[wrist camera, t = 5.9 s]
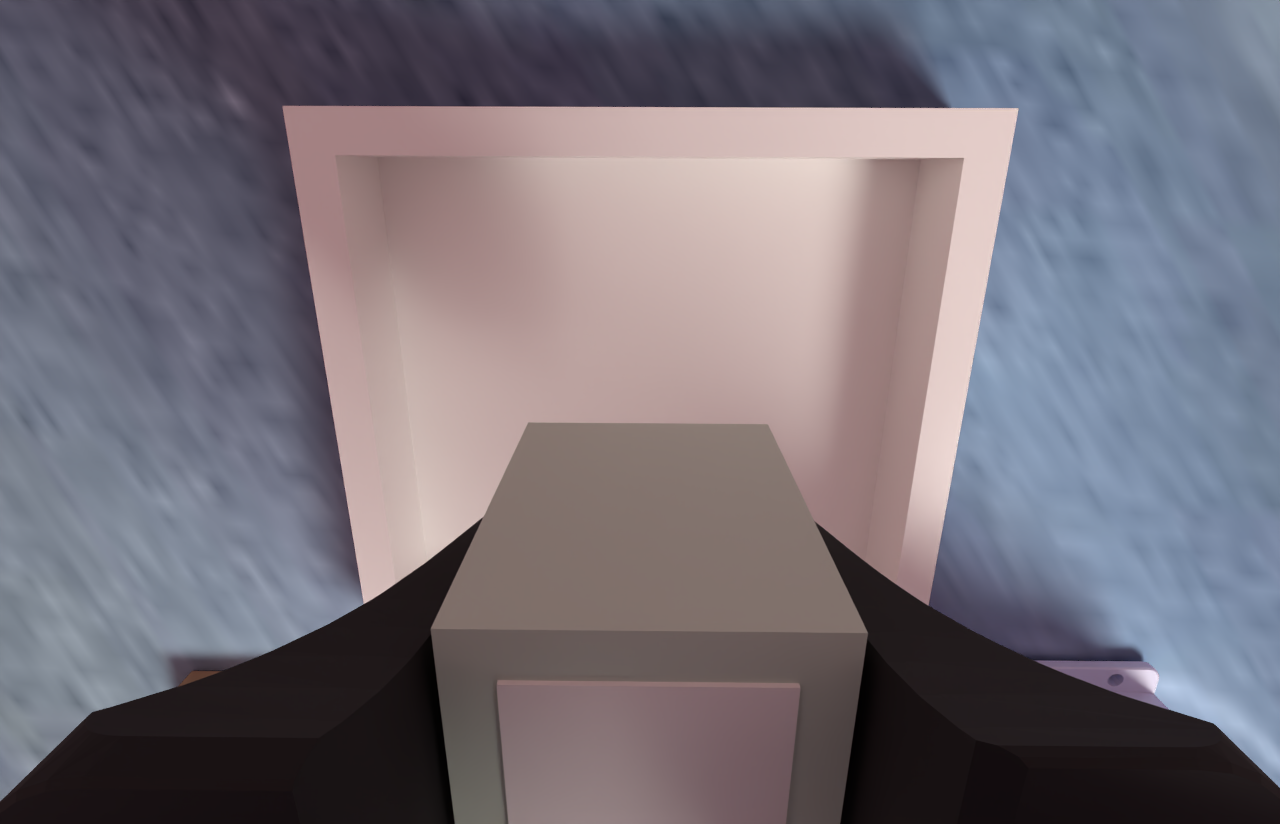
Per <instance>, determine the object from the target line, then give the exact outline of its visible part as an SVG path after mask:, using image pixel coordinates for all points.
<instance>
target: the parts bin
mask: <svg viewBox="0 0 1280 824" xmlns="http://www.w3.org/2000/svg"><path fill="white" fill-rule="evenodd" d="M282 107H283V113H284V119H285V125H286V131H287V137H288V144H289V150H290V156H291V162H292V168H293V174H294V180H295V186H296V192H297V198H298V205H299V211H300V217H301V223H302V229H303V235H304V241H305V247H306V253H307V260H308V266H309V272H310V278H311V284H312V290H313V296H314V302H315V308H316V314H317V321H318V327H319V333H320V339H321V345H322V351H323V357H324V363H325V369H326V375H327V382H328V388H329V394H330V400H331V406H332V412H333V418H334V424H335V430H336V436H337V443H338V449H339V455H340V461H341V467H342V473H343V479H344V485H345V491H346V498H347V504H348V510H349V516H350V522H351V528H352V534H353V540H354V546H355V552H356V559H357V565H358V571H359V577H360V583H361V589H362V595H363V601H364V604H365V603H367V602H368V601H370V600H372V599H373V598H375V597H376V596H378V595H380V594H381V593H383V592H384V591H386V590H387V589H389V588H390V587H391V586H393V585H394V584H396V583H397V582H399V581H400V580H401V579H403V578H404V577H406V576H407V575H409V574H410V573H411V572H413V571H414V570H416V569H417V568H419V567H420V566H421V565H423V564H424V563H426V562H427V561H428V560H430V559H431V558H432V557H433V556H435V555H436V554H437V553H438V552H440V551H441V550H442V549H444V548H445V547H446V546H447V545H449V544H450V543H451V542H453V541H454V540H455V539H456V538H458V537H459V536H460V535H461V534H462V533H464V532H465V531H466V530H467V529H469V528H470V527H471V526H472V525H474V524H475V523H476V522H477V521H479V520H480V519H481V518H483V517H484V515H485V513H486V511H487V509H488V506H489V504H490V502H491V500H492V498H493V496H494V494H495V492H496V489H497V487H498V485H499V483H500V481H501V479H502V477H503V475H504V473H505V470H506V468H507V466H508V464H509V462H510V460H511V458H512V456H513V454H514V451H515V449H516V447H517V445H518V443H519V441H520V439H521V437H522V435H523V432H524V430H525V428H526V426H527V424H528V422H536V423H678V424H768V426H769V428H770V430H771V432H772V434H773V436H774V438H775V440H776V442H777V444H778V447H779V449H780V451H781V453H782V455H783V457H784V459H785V461H786V463H787V465H788V467H789V469H790V472H791V474H792V476H793V478H794V480H795V482H796V484H797V486H798V488H799V490H800V492H801V494H802V497H803V499H804V501H805V503H806V505H807V507H808V509H809V511H810V513H811V515H812V517H813V519H814V521H815V522H816V523H818V524H819V525H820V526H821V527H823V528H824V529H825V530H826V531H828V532H829V533H830V534H831V535H832V536H834V537H835V538H836V539H837V540H839V541H840V542H841V543H842V544H844V545H845V546H846V547H847V548H849V549H850V550H851V551H852V552H854V553H855V554H856V555H857V556H859V557H860V558H861V559H862V560H864V561H865V562H866V563H868V564H869V565H870V566H872V567H873V568H874V569H876V570H877V571H878V572H880V573H881V574H882V575H884V576H885V577H887V578H888V579H889V580H891V581H892V582H893V583H895V584H896V585H898V586H899V587H901V588H902V589H904V590H905V591H907V592H908V593H910V594H911V595H913V596H914V597H916V598H917V599H919V600H920V601H922V602H923V603H925V604H927V605H928V606H929V600H930V595H931V589H932V584H933V578H934V573H935V567H936V562H937V556H938V551H939V545H940V539H941V534H942V528H943V523H944V517H945V512H946V506H947V501H948V495H949V490H950V484H951V479H952V473H953V468H954V462H955V457H956V451H957V446H958V440H959V435H960V429H961V423H962V418H963V412H964V407H965V401H966V396H967V390H968V385H969V379H970V374H971V368H972V363H973V357H974V352H975V346H976V341H977V335H978V330H979V324H980V318H981V313H982V307H983V302H984V296H985V291H986V285H987V280H988V274H989V269H990V263H991V258H992V252H993V247H994V241H995V236H996V230H997V225H998V219H999V214H1000V208H1001V202H1002V197H1003V191H1004V186H1005V180H1006V175H1007V169H1008V164H1009V158H1010V153H1011V147H1012V142H1013V136H1014V131H1015V125H1016V120H1017V114H1018V109H1019V108H748V107H465V106H282Z"/></svg>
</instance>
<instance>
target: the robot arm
mask: <svg viewBox="0 0 1280 824" xmlns="http://www.w3.org/2000/svg"><path fill="white" fill-rule="evenodd" d="M482 519H483V518H481V519H480V520H479V521H477V522H476V523H475V524H474V525H472V526H471V527H470V528H469V529H467V530H466V531H465V532H464V533H462V534H461V535H460V536H459V537H458V538H456V539H455V540H454V541H453V542H451V543H450V544H449V545H447V546H446V547H445V548H444V549H442V550H441V551H440V552H438V553H437V554H436V555H435V556H433V557H432V558H431V559H430V560H428V561H427V562H426V563H424V564H423V565H421V566H420V567H419V568H417V569H416V570H414V571H413V572H411V573H410V574H409V575H407V576H406V577H404V578H403V579H401V580H400V581H399V582H397V583H396V584H394V585H393V586H391V587H390V588H389V589H387V590H386V591H384V592H383V593H381V594H380V595H378V596H376V597H375V598H373V599H372V600H370V601H368V602H367V603H365V604H363V605H362V606H360V607H358V608H357V609H355V610H353V611H351V612H349V613H348V614H346V615H344V616H342V617H341V618H339V619H337V620H335V621H333V622H331V623H330V624H328V625H326V626H324V627H322V628H320V629H318V630H315V631H313V632H311V633H309V634H307V635H305V636H303V637H301V638H299V639H296V640H294V641H292V642H290V643H288V644H286V645H284V646H282V647H280V648H277V649H275V650H273V651H271V652H269V653H266V654H264V655H262V656H259V657H257V658H254V659H252V660H249V661H247V662H244V663H242V664H239V665H237V666H234V667H232V668H229V669H226V670H224V671H221V672H218V673H216V674H213V675H210V676H207V677H205V678H202V679H199V680H196V681H193V682H190V683H188V684H185V685H182V686H179V687H175V688H172V689H169V690H166V691H162V692H159V693H156V694H153V695H149V696H146V697H143V698H139V699H136V700H133V701H130V702H126V703H123V704H120V705H116V706H113V707H110V708H106V709H102V710H99V711H95V712H92V713H91V714H90V715H89V716H88V717H87V718H86V719H85V720H83V721H82V722H81V723H80V724H79V725H78V726H77V727H76V728H75V729H74V730H73V731H72V732H71V733H70V734H69V735H68V736H67V737H66V738H65V739H64V740H63V741H62V742H61V743H60V744H59V745H58V746H57V747H56V748H55V749H54V750H53V751H52V752H51V753H50V754H49V755H48V756H47V757H46V758H45V759H43V760H42V761H41V762H40V763H39V764H38V765H37V766H36V767H35V768H34V769H33V770H32V771H31V772H30V773H29V774H28V775H27V776H26V777H25V778H24V779H23V780H22V781H21V782H20V783H19V784H18V785H17V786H16V787H15V788H14V789H13V790H12V791H11V792H10V793H9V794H8V795H7V796H6V797H5V798H4V799H2V800H1V801H0V824H455V821H454V813H453V805H452V797H451V789H450V781H449V773H448V765H447V757H446V749H445V741H444V733H443V725H442V717H441V709H440V700H439V692H438V684H437V676H436V668H435V660H434V652H433V644H432V636H431V627H432V625H433V623H434V621H435V618H436V616H437V614H438V612H439V610H440V608H441V606H442V604H443V602H444V599H445V597H446V595H447V593H448V591H449V589H450V587H451V585H452V583H453V580H454V578H455V576H456V574H457V572H458V570H459V568H460V566H461V564H462V561H463V559H464V557H465V555H466V553H467V551H468V549H469V547H470V544H471V542H472V540H473V538H474V536H475V534H476V532H477V530H478V528H479V525H480V523H481V521H482ZM814 522H815V521H814ZM815 524H816V526H817V528H818V530H819V532H820V534H821V536H822V538H823V540H824V542H825V545H826V547H827V549H828V551H829V553H830V555H831V557H832V559H833V561H834V563H835V565H836V567H837V570H838V572H839V574H840V576H841V578H842V580H843V582H844V584H845V586H846V588H847V590H848V592H849V595H850V597H851V599H852V601H853V603H854V605H855V607H856V609H857V611H858V613H859V615H860V618H861V620H862V622H863V624H864V626H865V628H866V630H867V632H868V636H867V643H866V650H865V657H864V664H863V670H862V677H861V684H860V691H859V698H858V705H857V712H856V718H855V725H854V732H853V739H852V746H851V753H850V759H849V766H848V773H847V780H846V787H845V794H844V801H843V807H842V814H841V821H840V824H1280V788H1279V787H1278V786H1277V785H1276V784H1275V783H1274V782H1273V781H1272V780H1271V779H1270V778H1269V777H1268V776H1267V775H1266V774H1265V773H1264V772H1263V771H1262V770H1261V769H1260V768H1259V767H1258V766H1257V765H1256V764H1255V763H1254V762H1253V761H1252V760H1251V759H1250V758H1249V757H1248V756H1246V755H1245V754H1244V753H1243V752H1242V751H1241V750H1240V749H1239V748H1238V747H1237V746H1236V745H1235V744H1234V743H1233V742H1232V741H1231V740H1230V739H1229V738H1228V737H1227V736H1226V735H1225V734H1224V733H1223V732H1222V731H1221V730H1220V729H1219V728H1218V727H1217V726H1216V725H1214V724H1213V723H1210V722H1207V721H1203V720H1200V719H1197V718H1194V717H1191V716H1187V715H1184V714H1181V713H1178V712H1175V711H1171V710H1169V709H1168V708H1167V707H1166V706H1165V705H1164V704H1163V703H1162V702H1161V701H1160V700H1159V699H1158V698H1157V697H1156V696H1155V695H1154V693H1155V690H1156V687H1157V684H1158V681H1159V674H1158V672H1157V670H1156V669H1155V668H1154V667H1152V666H1151V665H1150V664H1149V663H1147V662H1142V661H1035V660H1031V659H1029V658H1027V657H1025V656H1023V655H1021V654H1018V653H1016V652H1014V651H1012V650H1010V649H1008V648H1006V647H1003V646H1001V645H999V644H997V643H995V642H993V641H991V640H989V639H987V638H985V637H983V636H981V635H979V634H977V633H975V632H973V631H971V630H970V629H968V628H966V627H964V626H963V625H961V624H959V623H957V622H956V621H954V620H952V619H950V618H948V617H947V616H945V615H943V614H941V613H940V612H938V611H936V610H935V609H933V608H931V607H930V606H928V605H927V604H925V603H923V602H922V601H920V600H919V599H917V598H916V597H914V596H913V595H911V594H910V593H908V592H907V591H905V590H904V589H902V588H901V587H899V586H898V585H896V584H895V583H893V582H892V581H891V580H889V579H888V578H887V577H885V576H884V575H882V574H881V573H880V572H878V571H877V570H876V569H874V568H873V567H872V566H870V565H869V564H868V563H866V562H865V561H864V560H862V559H861V558H860V557H859V556H857V555H856V554H855V553H854V552H852V551H851V550H850V549H849V548H847V547H846V546H845V545H844V544H842V543H841V542H840V541H839V540H837V539H836V538H835V537H834V536H832V535H831V534H830V533H829V532H828V531H826V530H825V529H824V528H823V527H821V526H820V525H819V524H818V523H816V522H815ZM1112 675H1113V676H1112ZM1110 676H1112V677H1110ZM1109 677H1110V678H1109Z"/></svg>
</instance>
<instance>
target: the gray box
mask: <svg viewBox="0 0 1280 824" xmlns="http://www.w3.org/2000/svg"><path fill="white" fill-rule="evenodd" d="M431 636H432V644H433V652H434V660H435V668H436V676H437V684H438V692H439V700H440V709H441V717H442V725H443V733H444V741H445V749H446V757H447V765H448V773H449V781H450V789H451V797H452V805H453V813H454V821H455V824H840V821H841V814H842V807H843V801H844V794H845V787H846V780H847V773H848V766H849V759H850V753H851V746H852V739H853V732H854V725H855V718H856V712H857V705H858V698H859V691H860V684H861V677H862V670H863V664H864V657H865V650H866V643H867V636H868V632H867V630H866V628H865V626H864V624H863V622H862V620H861V618H860V615H859V613H858V611H857V609H856V607H855V605H854V603H853V601H852V599H851V597H850V595H849V592H848V590H847V588H846V586H845V584H844V582H843V580H842V578H841V576H840V574H839V572H838V570H837V567H836V565H835V563H834V561H833V559H832V557H831V555H830V553H829V551H828V549H827V547H826V545H825V542H824V540H823V538H822V536H821V534H820V532H819V530H818V528H817V526H816V524H815V522H814V519H813V517H812V515H811V513H810V511H809V509H808V507H807V505H806V503H805V501H804V499H803V497H802V494H801V492H800V490H799V488H798V486H797V484H796V482H795V480H794V478H793V476H792V474H791V472H790V469H789V467H788V465H787V463H786V461H785V459H784V457H783V455H782V453H781V451H780V449H779V447H778V444H777V442H776V440H775V438H774V436H773V434H772V432H771V430H770V428H769V426H768V424H678V423H536V422H528V424H527V426H526V428H525V430H524V432H523V435H522V437H521V439H520V441H519V443H518V445H517V447H516V449H515V451H514V454H513V456H512V458H511V460H510V462H509V464H508V466H507V468H506V470H505V473H504V475H503V477H502V479H501V481H500V483H499V485H498V487H497V489H496V492H495V494H494V496H493V498H492V500H491V502H490V504H489V506H488V509H487V511H486V513H485V515H484V517H483V519H482V521H481V523H480V525H479V528H478V530H477V532H476V534H475V536H474V538H473V540H472V542H471V544H470V547H469V549H468V551H467V553H466V555H465V557H464V559H463V561H462V564H461V566H460V568H459V570H458V572H457V574H456V576H455V578H454V580H453V583H452V585H451V587H450V589H449V591H448V593H447V595H446V597H445V599H444V602H443V604H442V606H441V608H440V610H439V612H438V614H437V616H436V618H435V621H434V623H433V625H432V627H431Z"/></svg>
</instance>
